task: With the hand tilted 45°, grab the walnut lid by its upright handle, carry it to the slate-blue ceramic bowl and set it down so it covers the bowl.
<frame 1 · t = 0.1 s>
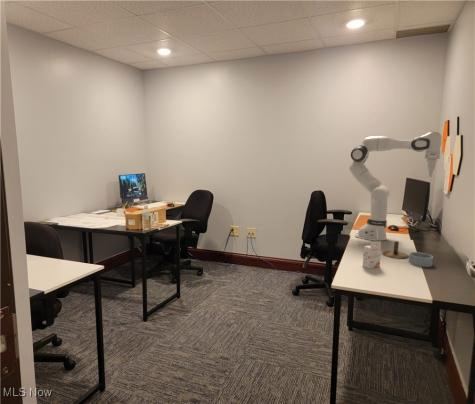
hand: (430, 176, 234), 48 cm above the table, tool pointing down, fingers open, 8 cm apart
bowl: (420, 263, 198), on the table
lid: (395, 255, 213), on the table
ink cartridge box: (370, 266, 190), on the table
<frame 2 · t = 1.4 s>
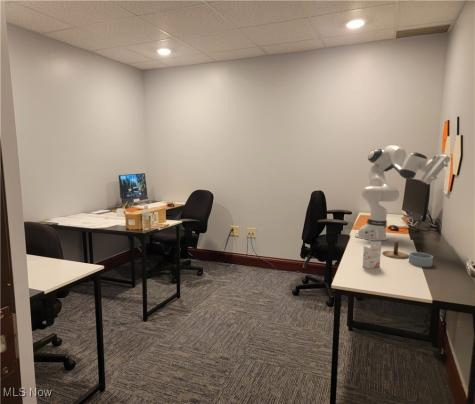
hand: (441, 171, 207), 53 cm above the table, tool horizontal, fingers open, 8 cm apart
nothing on the table moved.
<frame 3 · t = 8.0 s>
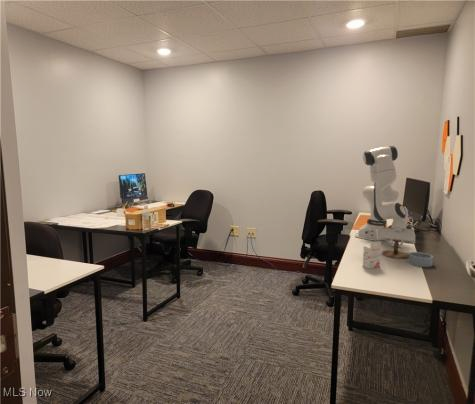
hand: (396, 247, 212), 5 cm above the table, tool tilted 45°, fingers closed on lid, 2 cm apart
lid: (395, 255, 213), on the table, touching gripper
everything else where it was.
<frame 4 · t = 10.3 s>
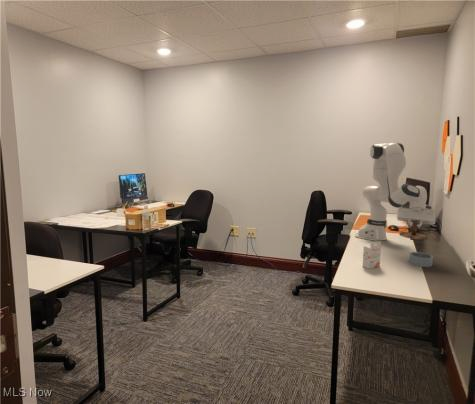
hand: (414, 227, 199), 21 cm above the table, tool tilted 45°, fingers closed on lid, 2 cm apart
lid: (413, 236, 200), point 15 cm above the table, touching gripper
everything else where it was.
when the fingers open (12 cm above the table, at t = 12.7 s): lid drops 1 cm, resting on bowl.
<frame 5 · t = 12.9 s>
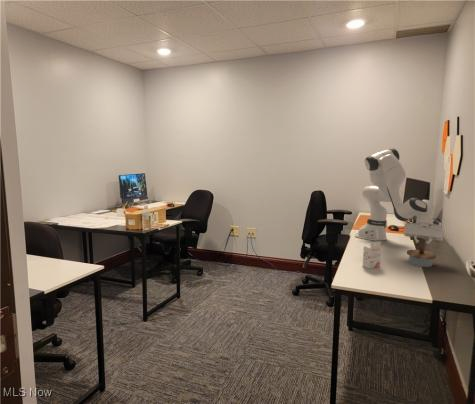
hand: (422, 243, 196), 12 cm above the table, tool tilted 45°, fingers open, 4 cm apart
lid: (421, 255, 197), point 5 cm above the table, touching bowl
everything else where it was.
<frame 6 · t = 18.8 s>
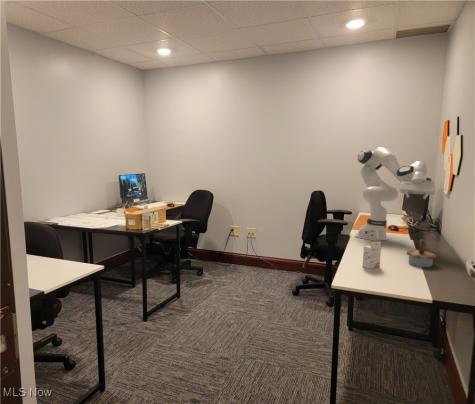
hand: (416, 198, 216), 35 cm above the table, tool tilted 45°, fingers open, 8 cm apart
nothing on the table moved.
at the end: lid 0.0 cm off-centre on the bowl, point 5.0 cm above the bowl's base; lid tilted 0°; the gripper is holding nothing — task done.
